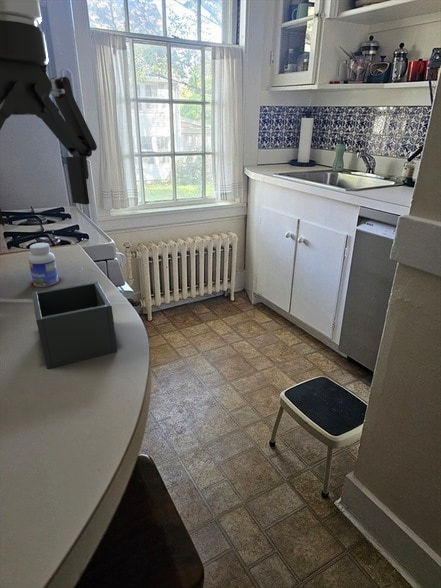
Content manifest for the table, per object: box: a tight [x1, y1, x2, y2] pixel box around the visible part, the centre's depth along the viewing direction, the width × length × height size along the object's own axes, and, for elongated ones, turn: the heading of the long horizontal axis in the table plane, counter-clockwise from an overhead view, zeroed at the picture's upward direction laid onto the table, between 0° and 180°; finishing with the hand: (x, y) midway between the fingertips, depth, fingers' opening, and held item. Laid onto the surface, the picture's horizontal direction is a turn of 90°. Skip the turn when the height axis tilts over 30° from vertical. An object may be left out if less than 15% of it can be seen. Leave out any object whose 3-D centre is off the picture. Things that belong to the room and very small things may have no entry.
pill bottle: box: [28, 242, 59, 288], centre depth 88 cm, size 5×5×10 cm
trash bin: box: [31, 281, 118, 370], centre depth 66 cm, size 11×11×9 cm
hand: (42, 212), depth 53 cm, fingers open, 13 cm apart
